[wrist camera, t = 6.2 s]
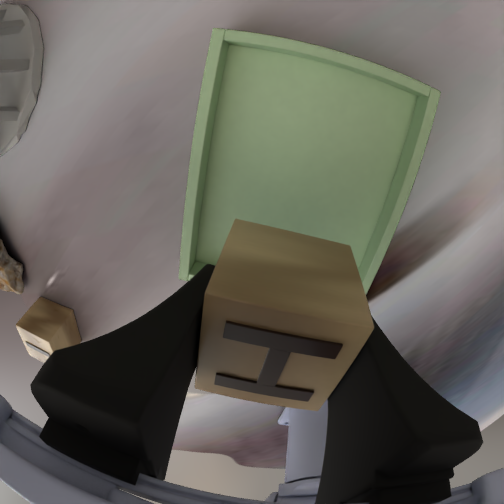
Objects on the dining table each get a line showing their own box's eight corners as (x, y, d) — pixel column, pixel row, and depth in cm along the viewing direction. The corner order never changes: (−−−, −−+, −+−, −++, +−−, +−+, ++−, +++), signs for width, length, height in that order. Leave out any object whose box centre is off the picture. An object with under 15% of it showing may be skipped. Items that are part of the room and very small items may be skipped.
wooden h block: (350, 245, 11) (375, 330, 7) (315, 328, 13) (318, 414, 10) (234, 217, 11) (203, 295, 7) (219, 307, 13) (193, 391, 10)
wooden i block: (73, 309, 24) (48, 342, 20) (81, 340, 27) (61, 372, 23) (40, 296, 24) (14, 325, 20) (50, 327, 27) (28, 355, 23)
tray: (425, 90, 12) (441, 91, 11) (350, 298, 20) (354, 318, 18) (222, 34, 12) (212, 27, 11) (187, 262, 20) (178, 279, 18)
